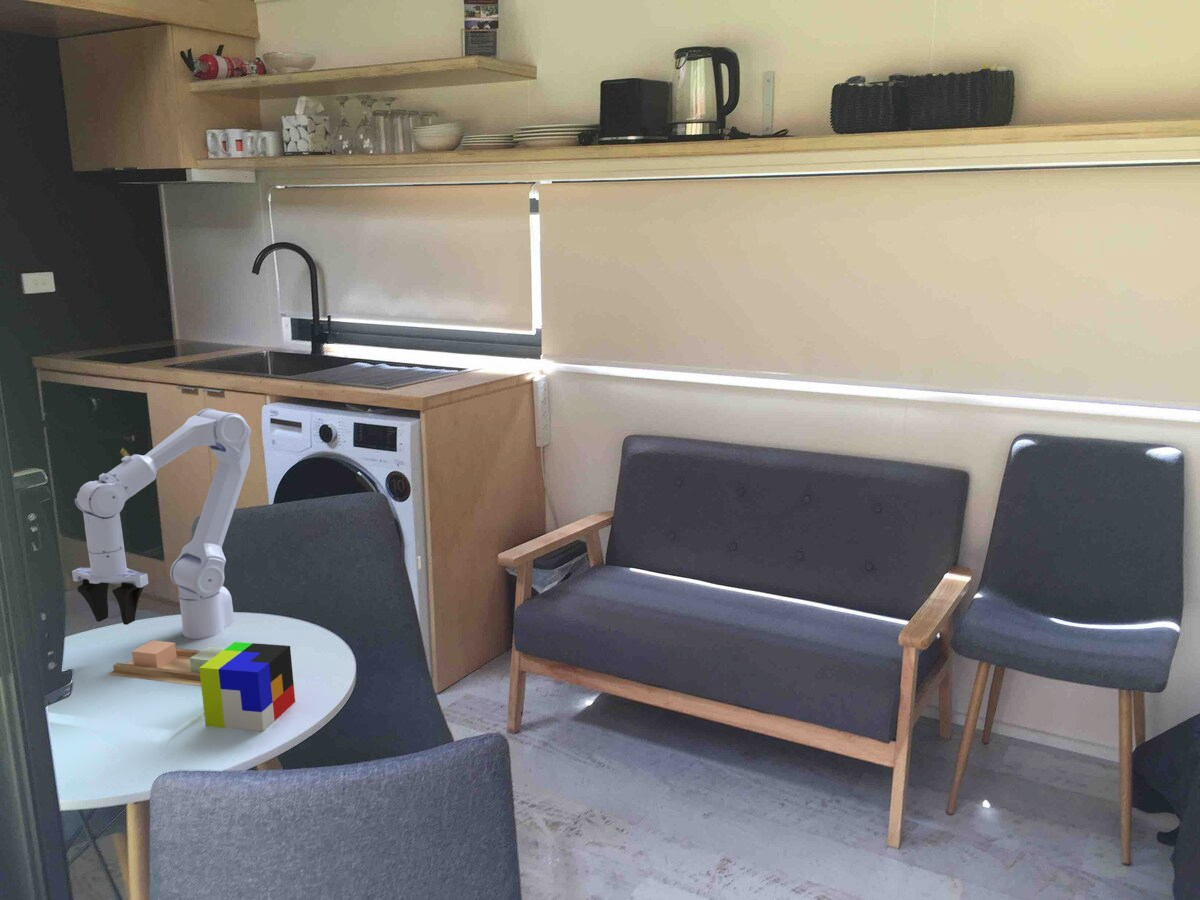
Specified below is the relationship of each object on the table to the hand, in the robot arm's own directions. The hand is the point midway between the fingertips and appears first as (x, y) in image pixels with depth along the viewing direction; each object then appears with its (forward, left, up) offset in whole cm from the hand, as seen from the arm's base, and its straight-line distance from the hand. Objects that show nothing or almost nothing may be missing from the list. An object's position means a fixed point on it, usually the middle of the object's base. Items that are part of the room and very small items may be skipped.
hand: (115, 621), depth 178 cm
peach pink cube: (0, +8, -7) cm, 10 cm away
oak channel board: (0, +16, -8) cm, 18 cm away
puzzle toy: (+11, +35, -9) cm, 37 cm away
